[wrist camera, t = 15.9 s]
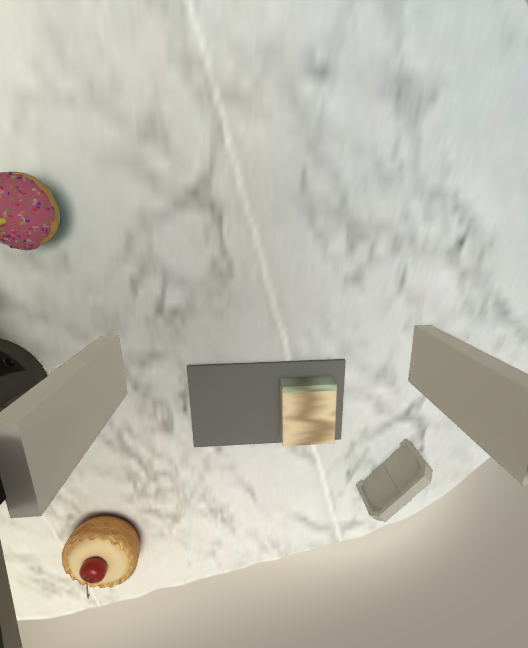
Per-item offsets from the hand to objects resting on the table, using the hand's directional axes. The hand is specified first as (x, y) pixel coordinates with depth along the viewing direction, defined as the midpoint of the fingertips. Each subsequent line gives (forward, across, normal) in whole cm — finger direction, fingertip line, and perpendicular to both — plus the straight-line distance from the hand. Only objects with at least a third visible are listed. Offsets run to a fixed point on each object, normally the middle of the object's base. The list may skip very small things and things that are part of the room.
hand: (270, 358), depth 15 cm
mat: (+33, +2, -21) cm, 39 cm away
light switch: (+33, +22, -34) cm, 52 cm away
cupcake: (+33, -27, +8) cm, 43 cm away
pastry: (+33, -26, -46) cm, 62 cm away
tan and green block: (+31, +8, -26) cm, 41 cm away
